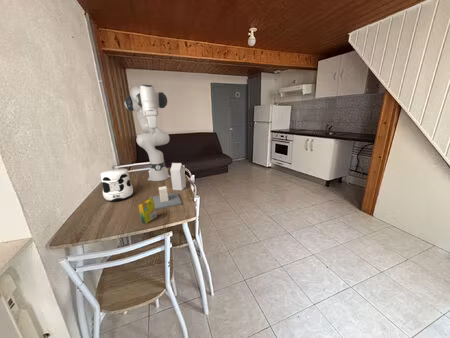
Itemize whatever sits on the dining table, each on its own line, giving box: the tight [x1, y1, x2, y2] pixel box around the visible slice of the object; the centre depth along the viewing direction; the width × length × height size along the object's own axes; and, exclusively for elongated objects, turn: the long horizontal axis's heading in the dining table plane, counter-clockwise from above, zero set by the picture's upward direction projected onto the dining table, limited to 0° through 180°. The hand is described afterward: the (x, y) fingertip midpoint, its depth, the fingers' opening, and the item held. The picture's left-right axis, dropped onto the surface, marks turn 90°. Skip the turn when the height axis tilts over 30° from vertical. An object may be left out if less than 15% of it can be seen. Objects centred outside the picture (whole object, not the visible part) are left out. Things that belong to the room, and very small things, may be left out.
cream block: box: [158, 185, 169, 202], centre depth 115 cm, size 4×4×8 cm
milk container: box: [100, 168, 134, 202], centre depth 123 cm, size 17×17×18 cm
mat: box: [148, 191, 182, 211], centre depth 116 cm, size 18×18×1 cm
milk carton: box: [169, 162, 187, 191], centre depth 134 cm, size 7×7×19 cm
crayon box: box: [138, 196, 158, 225], centre depth 94 cm, size 7×3×12 cm, turn 155°
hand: (154, 135), depth 119 cm, fingers open, 8 cm apart
